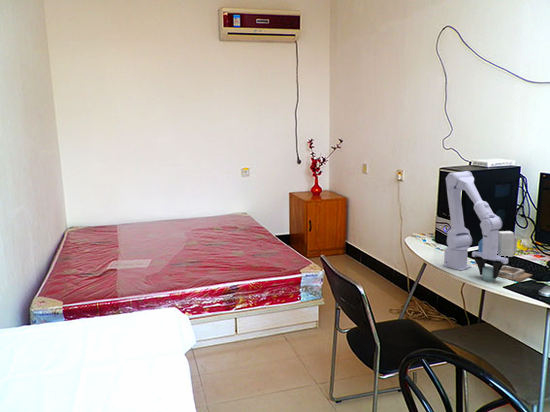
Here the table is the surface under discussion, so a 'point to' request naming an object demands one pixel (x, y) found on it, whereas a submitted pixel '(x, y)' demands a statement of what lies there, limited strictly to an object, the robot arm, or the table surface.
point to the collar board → (513, 274)
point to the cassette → (515, 244)
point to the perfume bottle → (480, 245)
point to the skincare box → (505, 243)
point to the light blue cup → (488, 273)
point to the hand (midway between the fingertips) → (488, 276)
